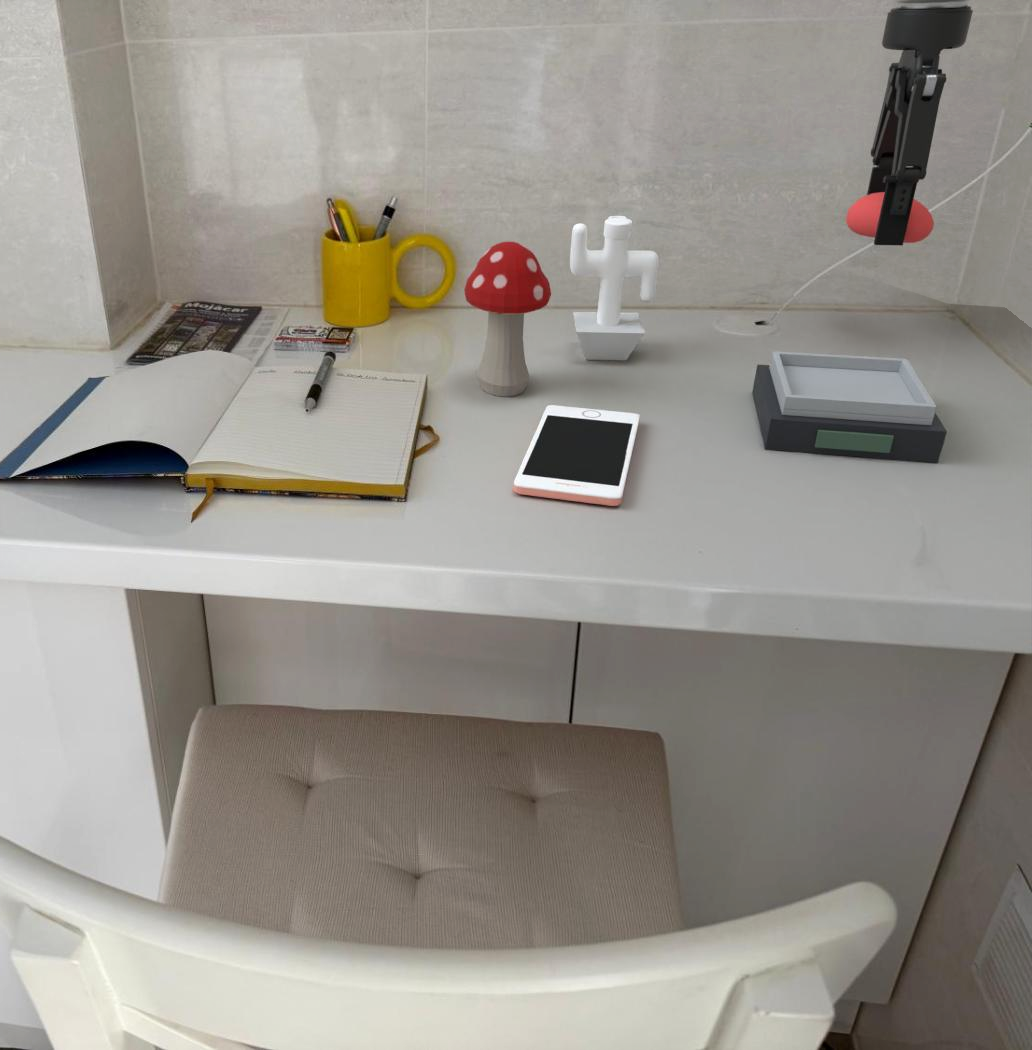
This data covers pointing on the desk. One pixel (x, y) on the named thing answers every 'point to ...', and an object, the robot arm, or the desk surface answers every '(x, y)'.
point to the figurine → (611, 289)
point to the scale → (846, 407)
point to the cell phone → (579, 455)
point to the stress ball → (867, 215)
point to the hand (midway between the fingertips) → (880, 235)
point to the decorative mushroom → (506, 312)
